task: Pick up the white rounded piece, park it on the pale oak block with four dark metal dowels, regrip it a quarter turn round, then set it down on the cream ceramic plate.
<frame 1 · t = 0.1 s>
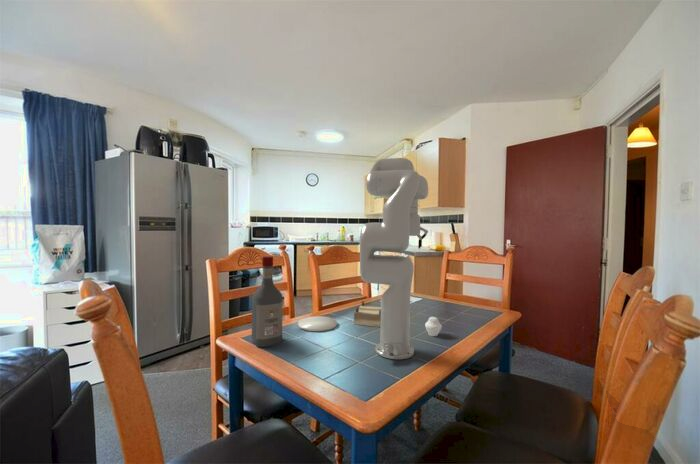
hand: (408, 248, 141), 31 cm above the table, tool pointing down, fingers open, 9 cm apart
white rounded piece: (433, 335, 114), on the table
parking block: (371, 321, 129), on the table
liquor: (267, 342, 105), on the table
plate: (317, 325, 123), on the table
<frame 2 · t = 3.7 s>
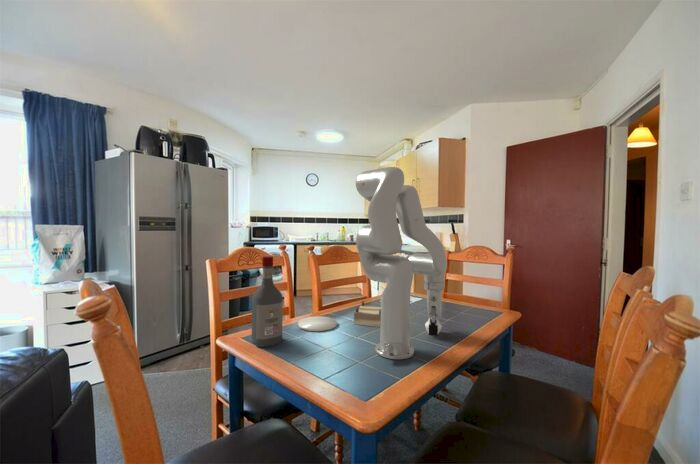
hand: (433, 331, 114), 1 cm above the table, tool pointing down, fingers closed on white rounded piece, 6 cm apart
white rounded piece: (433, 335, 114), on the table, touching gripper
everything else where it was.
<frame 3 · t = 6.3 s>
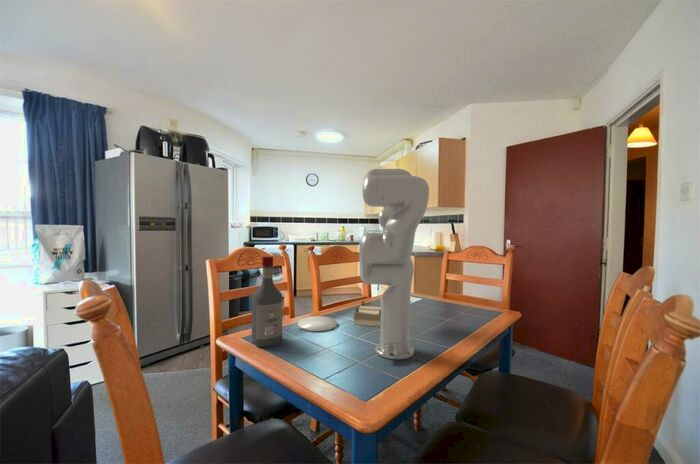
hand: (390, 282, 124), 18 cm above the table, tool pointing down, fingers closed on white rounded piece, 6 cm apart
white rounded piece: (391, 285, 124), point 17 cm above the table, touching gripper
everything else where it was.
when the fingers open (7 cm above the table, at t = 9.2 s): white rounded piece drops 1 cm, resting on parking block.
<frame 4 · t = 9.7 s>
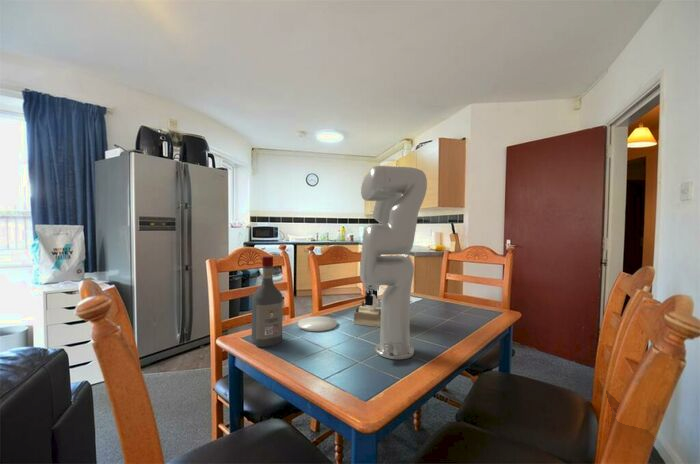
hand: (371, 302, 129), 8 cm above the table, tool pointing down, fingers open, 9 cm apart
white rounded piece: (371, 310, 129), point 5 cm above the table, touching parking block
everything else where it was.
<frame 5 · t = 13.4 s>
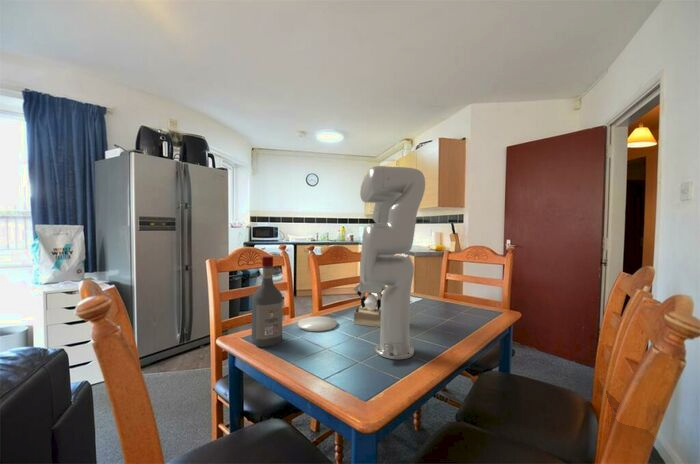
hand: (371, 307, 129), 6 cm above the table, tool pointing down, fingers closed on white rounded piece, 6 cm apart
white rounded piece: (371, 310, 129), point 5 cm above the table, touching gripper, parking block
everything else where it was.
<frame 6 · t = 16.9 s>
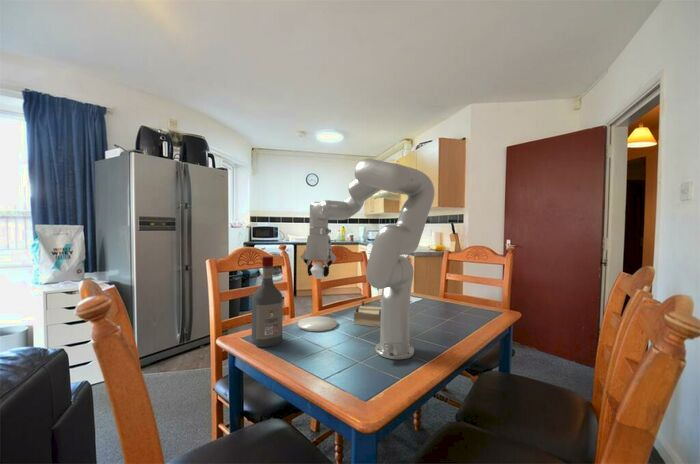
hand: (318, 275, 123), 21 cm above the table, tool pointing down, fingers closed on white rounded piece, 6 cm apart
white rounded piece: (317, 278, 122), point 19 cm above the table, touching gripper
everything else where it was.
when the fingers open (4 cm above the table, at t = 20.4 s): white rounded piece drops 1 cm, resting on plate.
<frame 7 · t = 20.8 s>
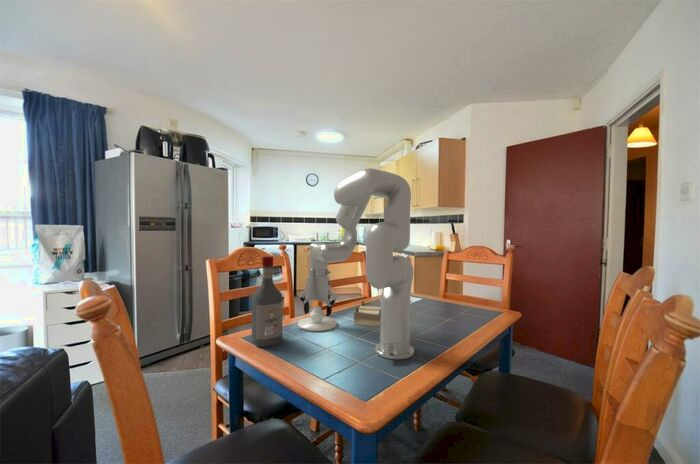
hand: (317, 314, 123), 4 cm above the table, tool pointing down, fingers open, 9 cm apart
white rounded piece: (316, 322, 123), point 1 cm above the table, touching plate
everything else where it was.
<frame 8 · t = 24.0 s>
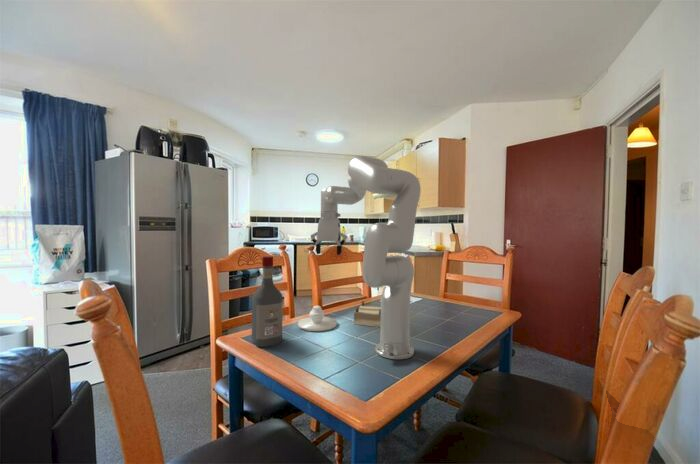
hand: (328, 254, 134), 28 cm above the table, tool pointing down, fingers open, 9 cm apart
nothing on the table moved.
at the end: white rounded piece inside the target area on the plate (0.3 cm from its centre), point 1.0 cm above the plate's base; white rounded piece tilted 0°; the gripper is holding nothing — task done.
